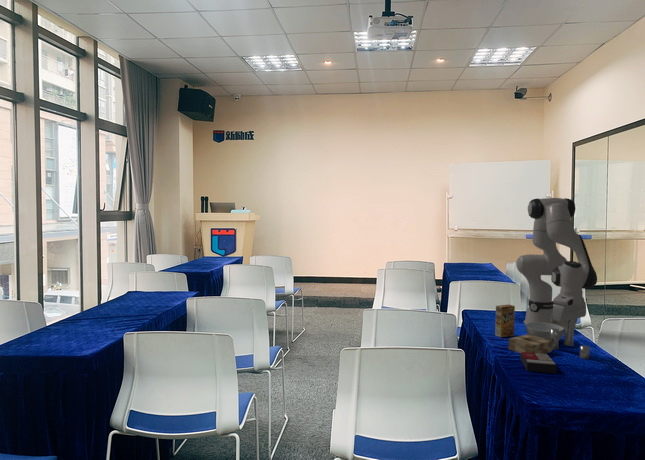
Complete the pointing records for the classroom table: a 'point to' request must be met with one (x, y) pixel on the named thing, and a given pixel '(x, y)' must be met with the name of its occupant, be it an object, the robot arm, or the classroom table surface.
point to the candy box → (505, 320)
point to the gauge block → (530, 344)
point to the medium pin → (554, 338)
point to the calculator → (538, 362)
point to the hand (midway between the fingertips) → (569, 328)
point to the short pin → (584, 352)
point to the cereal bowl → (543, 329)
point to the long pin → (569, 334)
